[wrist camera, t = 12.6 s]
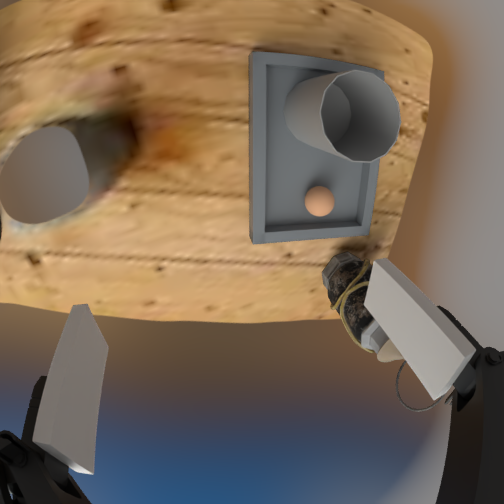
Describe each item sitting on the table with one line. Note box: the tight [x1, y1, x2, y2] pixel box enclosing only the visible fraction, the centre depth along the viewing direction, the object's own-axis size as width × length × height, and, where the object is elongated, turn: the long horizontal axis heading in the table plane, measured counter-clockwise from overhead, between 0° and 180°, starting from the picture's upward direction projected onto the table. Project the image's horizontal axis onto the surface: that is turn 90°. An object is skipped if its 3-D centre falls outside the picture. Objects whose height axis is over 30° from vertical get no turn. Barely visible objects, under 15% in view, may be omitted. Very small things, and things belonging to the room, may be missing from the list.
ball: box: [305, 186, 335, 216], centre depth 32 cm, size 4×4×4 cm
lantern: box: [322, 252, 446, 411], centre depth 30 cm, size 9×8×25 cm
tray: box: [249, 52, 384, 244], centre depth 30 cm, size 16×22×2 cm
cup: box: [283, 70, 401, 163], centre depth 24 cm, size 8×8×10 cm
